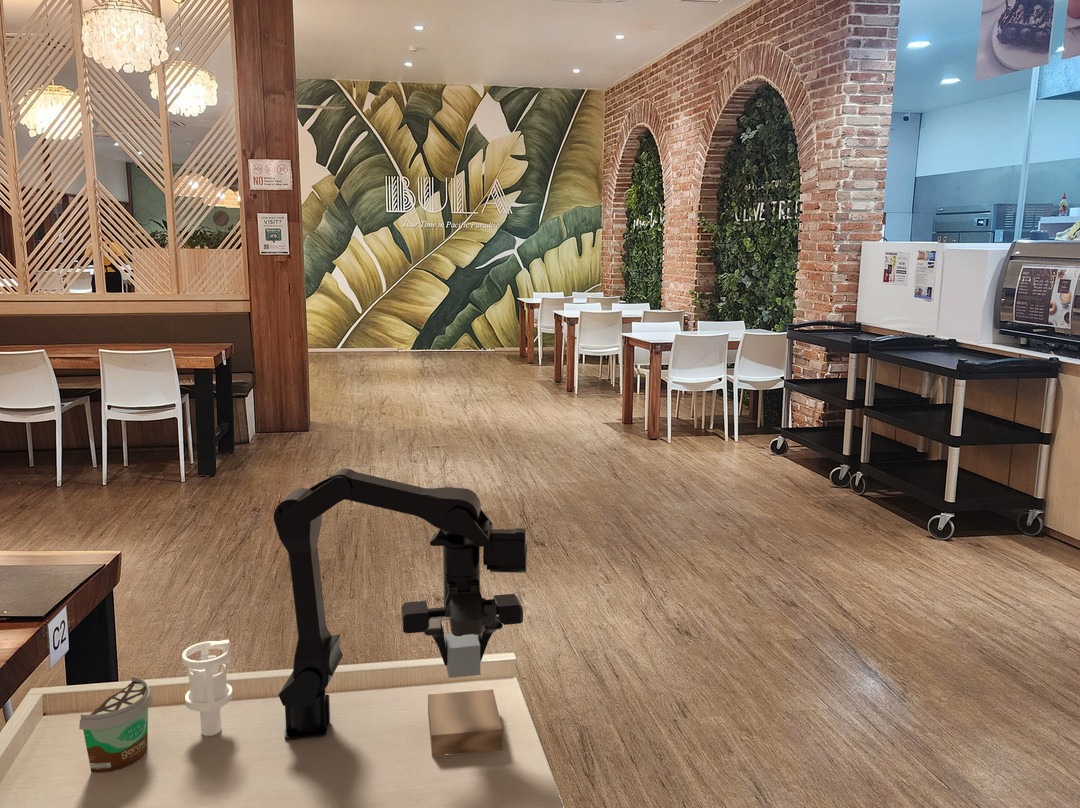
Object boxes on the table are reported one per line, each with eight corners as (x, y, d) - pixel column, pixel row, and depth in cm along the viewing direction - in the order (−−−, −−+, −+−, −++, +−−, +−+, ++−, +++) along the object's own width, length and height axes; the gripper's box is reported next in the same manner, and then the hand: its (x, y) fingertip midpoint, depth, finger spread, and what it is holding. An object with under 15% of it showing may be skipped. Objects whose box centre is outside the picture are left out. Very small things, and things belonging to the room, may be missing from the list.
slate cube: (448, 678, 133) (448, 648, 132) (445, 662, 138) (444, 634, 137) (480, 674, 134) (480, 645, 133) (475, 659, 139) (475, 631, 138)
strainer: (237, 736, 136) (231, 649, 133) (189, 747, 133) (183, 658, 130) (231, 714, 142) (226, 631, 139) (186, 724, 139) (180, 639, 136)
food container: (121, 784, 124) (115, 721, 122) (84, 778, 125) (77, 716, 123) (173, 736, 136) (168, 679, 134) (138, 731, 137) (134, 674, 135)
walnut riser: (431, 758, 132) (431, 735, 131) (428, 716, 144) (427, 694, 143) (502, 752, 134) (502, 729, 133) (492, 710, 145) (493, 689, 145)
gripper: (404, 596, 123) (406, 694, 126) (530, 586, 127) (529, 682, 130) (400, 567, 134) (402, 659, 137) (516, 559, 138) (516, 648, 141)
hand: (462, 662), depth 136 cm, fingers closed on slate cube, 5 cm apart
